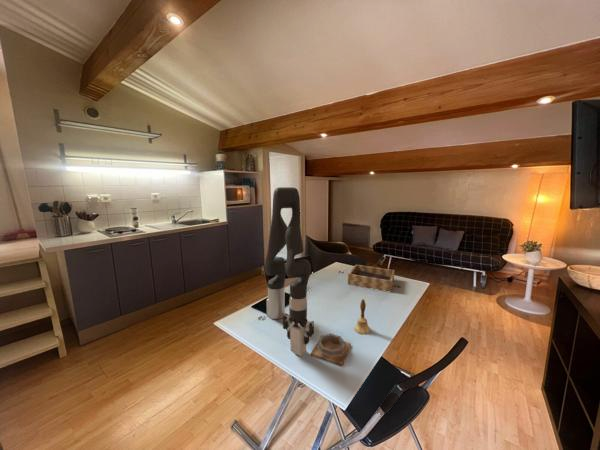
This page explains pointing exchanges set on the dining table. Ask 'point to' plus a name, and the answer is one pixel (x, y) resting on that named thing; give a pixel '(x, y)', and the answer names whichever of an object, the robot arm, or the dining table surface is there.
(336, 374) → the dining table surface
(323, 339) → the collar dock
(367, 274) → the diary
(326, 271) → the dining table surface
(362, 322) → the hand bell
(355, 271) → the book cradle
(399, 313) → the dining table surface
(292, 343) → the skincare box
